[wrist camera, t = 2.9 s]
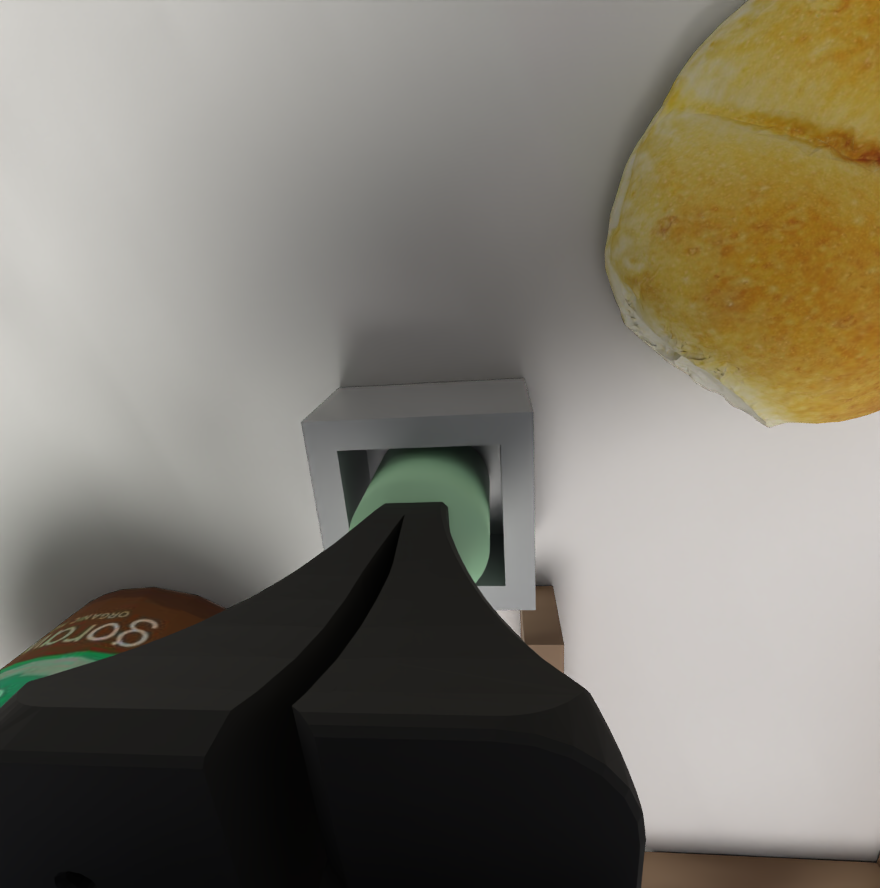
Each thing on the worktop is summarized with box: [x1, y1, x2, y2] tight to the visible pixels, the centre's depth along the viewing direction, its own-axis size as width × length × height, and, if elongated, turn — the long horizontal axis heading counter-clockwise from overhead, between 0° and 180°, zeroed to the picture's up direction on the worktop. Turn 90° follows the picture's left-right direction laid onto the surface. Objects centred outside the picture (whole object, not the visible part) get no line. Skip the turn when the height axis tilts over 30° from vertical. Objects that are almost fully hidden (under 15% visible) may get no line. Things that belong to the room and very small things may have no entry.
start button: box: [349, 446, 490, 583], centre depth 12 cm, size 3×3×3 cm
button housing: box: [301, 378, 536, 610], centre depth 13 cm, size 5×5×3 cm
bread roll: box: [605, 0, 880, 428], centre depth 10 cm, size 8×9×4 cm
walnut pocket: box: [520, 586, 880, 888], centre depth 16 cm, size 14×13×2 cm
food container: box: [0, 587, 226, 707], centre depth 13 cm, size 12×6×10 cm, turn 114°
